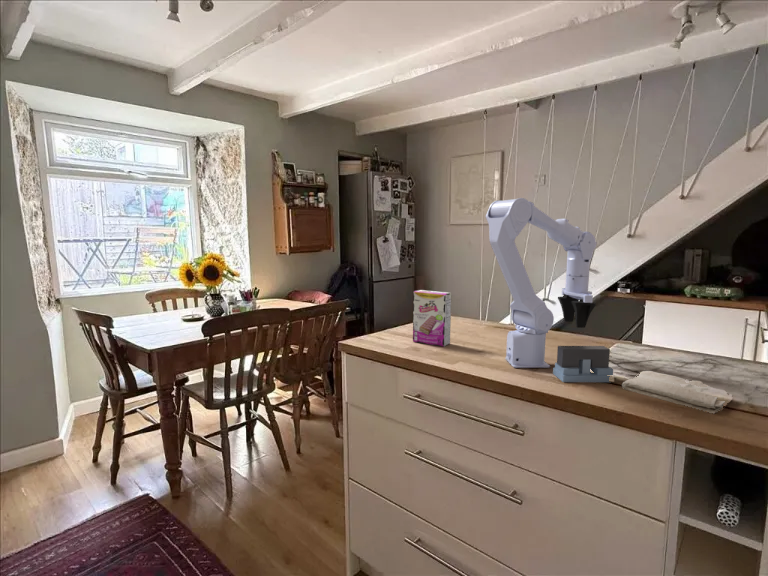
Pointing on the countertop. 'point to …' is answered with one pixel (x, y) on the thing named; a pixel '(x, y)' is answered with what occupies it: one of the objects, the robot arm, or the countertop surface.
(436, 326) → the candy bar box
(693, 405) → the washcloth
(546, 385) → the countertop surface
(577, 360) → the dark grey rectangular block
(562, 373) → the display stand
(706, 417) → the countertop surface
